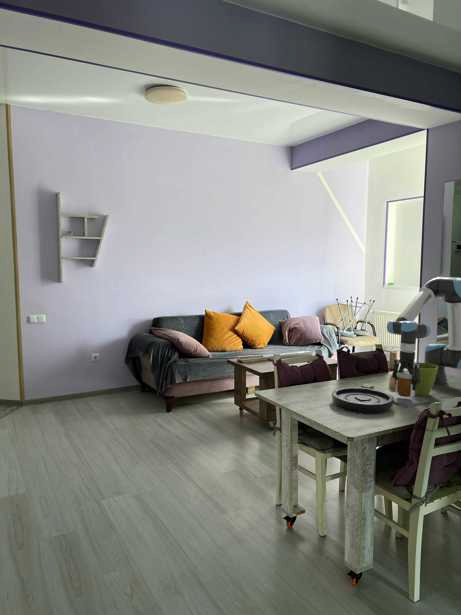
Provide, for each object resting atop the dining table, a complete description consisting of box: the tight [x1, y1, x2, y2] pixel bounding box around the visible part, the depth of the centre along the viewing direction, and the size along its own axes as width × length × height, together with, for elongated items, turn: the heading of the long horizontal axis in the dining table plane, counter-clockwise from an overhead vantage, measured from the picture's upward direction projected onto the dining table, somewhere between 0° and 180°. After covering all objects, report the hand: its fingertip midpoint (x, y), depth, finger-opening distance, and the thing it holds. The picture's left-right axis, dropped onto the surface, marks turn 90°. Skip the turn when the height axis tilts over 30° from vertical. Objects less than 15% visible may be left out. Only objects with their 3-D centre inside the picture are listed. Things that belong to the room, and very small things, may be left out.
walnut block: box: [360, 383, 375, 389], centre depth 259 cm, size 5×5×5 cm
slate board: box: [391, 393, 430, 408], centre depth 249 cm, size 18×16×1 cm
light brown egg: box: [388, 374, 396, 390], centre depth 273 cm, size 5×5×7 cm
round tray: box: [331, 386, 394, 415], centre depth 239 cm, size 30×6×30 cm
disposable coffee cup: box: [396, 370, 415, 397], centre depth 248 cm, size 10×10×12 cm
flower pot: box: [413, 362, 438, 397], centre depth 261 cm, size 15×15×16 cm
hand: (404, 393), depth 248 cm, fingers closed on disposable coffee cup, 8 cm apart
